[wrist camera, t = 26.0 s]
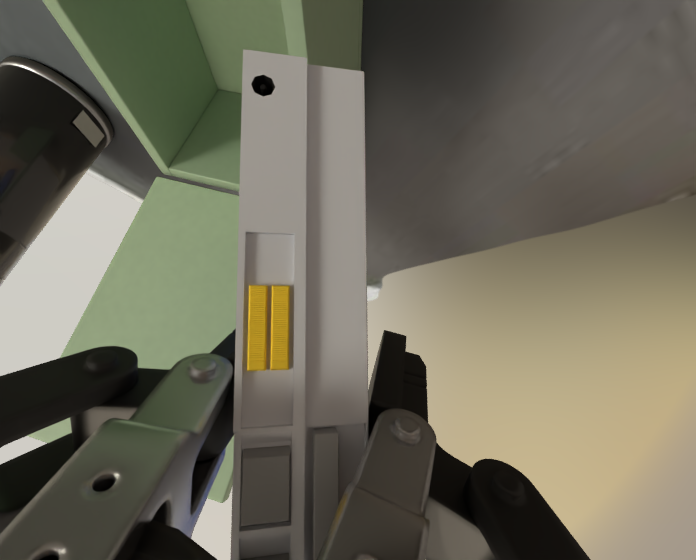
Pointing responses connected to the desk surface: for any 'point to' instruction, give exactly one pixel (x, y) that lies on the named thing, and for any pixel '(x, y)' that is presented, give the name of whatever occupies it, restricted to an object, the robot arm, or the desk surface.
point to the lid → (167, 290)
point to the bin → (199, 66)
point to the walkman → (298, 304)
